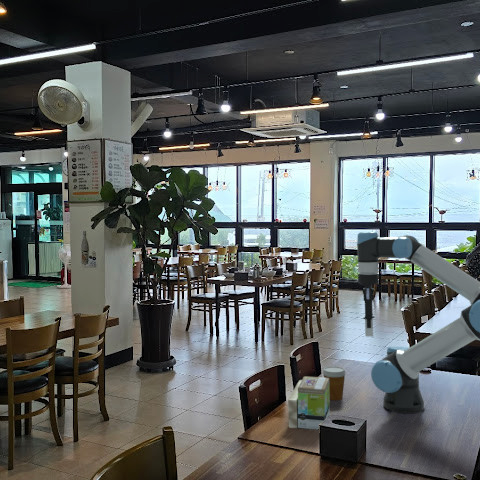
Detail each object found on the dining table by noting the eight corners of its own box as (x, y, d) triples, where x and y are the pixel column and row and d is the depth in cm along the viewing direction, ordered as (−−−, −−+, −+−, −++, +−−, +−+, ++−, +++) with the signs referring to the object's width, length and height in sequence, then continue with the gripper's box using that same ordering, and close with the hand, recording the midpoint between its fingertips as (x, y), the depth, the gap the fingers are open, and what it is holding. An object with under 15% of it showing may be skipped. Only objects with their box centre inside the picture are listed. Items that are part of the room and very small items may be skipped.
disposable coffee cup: (320, 400, 223) (319, 371, 223) (325, 393, 232) (325, 365, 232) (343, 403, 220) (343, 373, 219) (348, 395, 228) (348, 367, 228)
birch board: (307, 405, 218) (306, 380, 217) (297, 428, 195) (296, 400, 194) (300, 405, 219) (299, 380, 218) (288, 427, 196) (288, 399, 195)
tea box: (325, 430, 192) (325, 388, 191) (297, 428, 195) (296, 387, 194) (330, 415, 206) (329, 376, 206) (303, 413, 209) (302, 375, 208)
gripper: (358, 271, 212) (360, 332, 213) (356, 275, 200) (357, 339, 201) (379, 271, 210) (380, 332, 211) (377, 275, 198) (379, 340, 199)
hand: (369, 336), depth 206 cm, fingers closed
